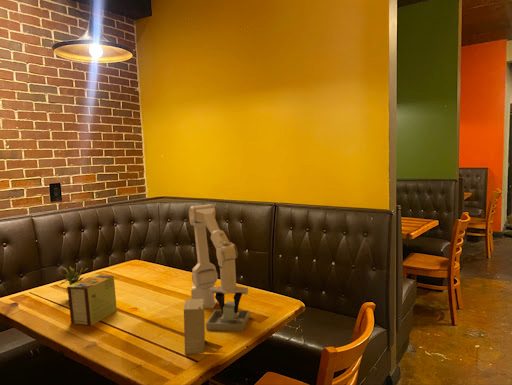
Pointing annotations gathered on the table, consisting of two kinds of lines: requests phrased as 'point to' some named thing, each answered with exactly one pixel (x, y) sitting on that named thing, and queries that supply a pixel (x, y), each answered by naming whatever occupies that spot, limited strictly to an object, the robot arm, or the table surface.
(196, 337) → the skincare box
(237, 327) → the crate
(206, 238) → the robot arm
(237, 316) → the wooden block
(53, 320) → the table surface
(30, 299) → the table surface
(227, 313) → the carton
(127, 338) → the table surface
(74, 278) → the house plant
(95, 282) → the protein box
